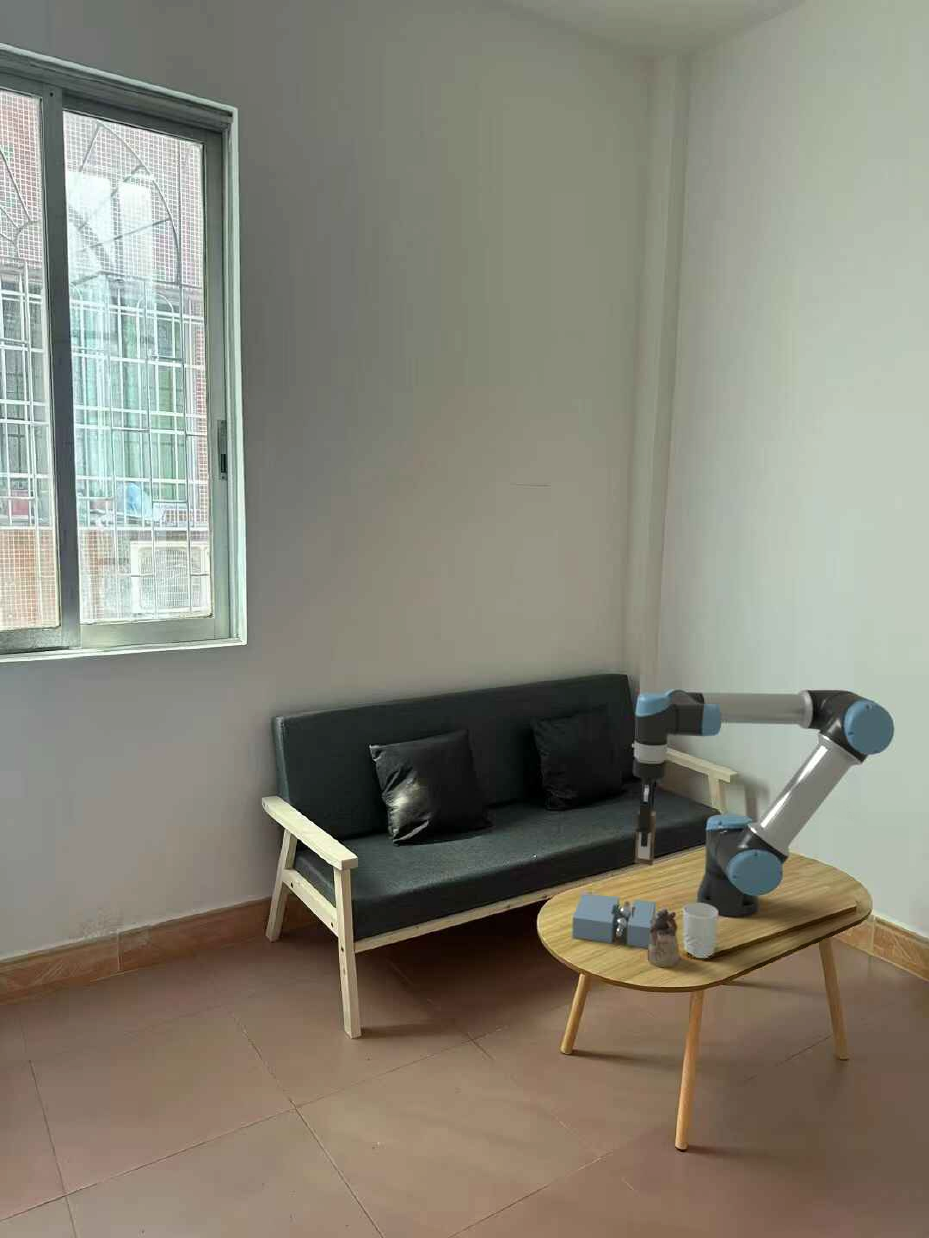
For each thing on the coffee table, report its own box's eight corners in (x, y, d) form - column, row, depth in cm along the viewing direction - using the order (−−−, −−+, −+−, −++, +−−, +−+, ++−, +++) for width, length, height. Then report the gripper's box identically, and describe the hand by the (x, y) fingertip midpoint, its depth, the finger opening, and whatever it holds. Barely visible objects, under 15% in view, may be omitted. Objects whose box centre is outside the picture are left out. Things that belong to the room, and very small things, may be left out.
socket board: (654, 921, 219) (655, 901, 219) (649, 948, 206) (650, 927, 205) (582, 911, 224) (582, 892, 224) (572, 937, 211) (572, 917, 210)
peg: (653, 858, 213) (656, 810, 212) (651, 865, 210) (654, 816, 208) (636, 856, 215) (639, 808, 213) (634, 862, 211) (637, 814, 209)
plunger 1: (633, 910, 222) (633, 899, 221) (630, 922, 215) (630, 910, 215) (620, 908, 223) (621, 897, 222) (617, 920, 216) (617, 908, 216)
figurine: (656, 948, 206) (658, 899, 204) (684, 958, 201) (686, 908, 200) (640, 960, 200) (642, 910, 199) (669, 971, 196) (670, 919, 194)
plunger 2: (628, 928, 212) (628, 916, 212) (625, 941, 206) (625, 928, 206) (615, 926, 213) (616, 914, 213) (612, 939, 207) (612, 927, 207)
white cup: (690, 939, 210) (691, 899, 209) (722, 949, 205) (724, 908, 204) (675, 952, 204) (676, 911, 203) (707, 963, 199) (709, 921, 198)
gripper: (637, 748, 218) (632, 839, 221) (629, 767, 202) (624, 865, 205) (668, 751, 216) (663, 843, 219) (663, 771, 200) (657, 870, 203)
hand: (644, 854), depth 212 cm, fingers closed on peg, 4 cm apart
